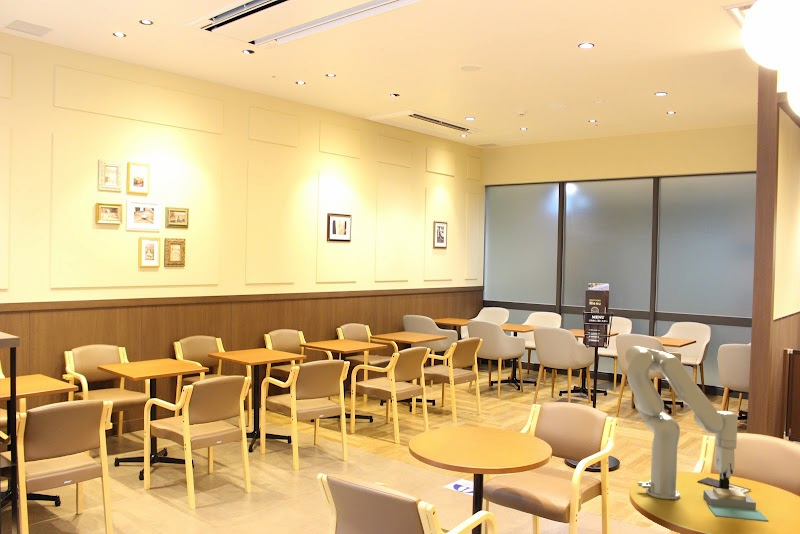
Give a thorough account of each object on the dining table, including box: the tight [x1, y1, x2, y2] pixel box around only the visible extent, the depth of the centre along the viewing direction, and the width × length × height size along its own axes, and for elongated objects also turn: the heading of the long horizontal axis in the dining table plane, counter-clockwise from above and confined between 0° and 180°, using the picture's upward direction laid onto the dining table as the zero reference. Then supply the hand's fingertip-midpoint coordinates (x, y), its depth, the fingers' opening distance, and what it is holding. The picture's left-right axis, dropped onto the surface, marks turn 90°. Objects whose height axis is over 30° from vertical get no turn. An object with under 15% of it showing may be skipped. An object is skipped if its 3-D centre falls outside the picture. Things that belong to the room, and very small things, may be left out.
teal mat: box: [707, 504, 770, 522], centre depth 246 cm, size 18×10×1 cm, turn 80°
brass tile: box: [712, 487, 746, 501], centre depth 256 cm, size 10×7×2 cm
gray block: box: [703, 489, 757, 510], centre depth 256 cm, size 16×10×3 cm, turn 80°
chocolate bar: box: [697, 476, 752, 494], centre depth 277 cm, size 9×1×18 cm
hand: (724, 488), depth 263 cm, fingers closed
